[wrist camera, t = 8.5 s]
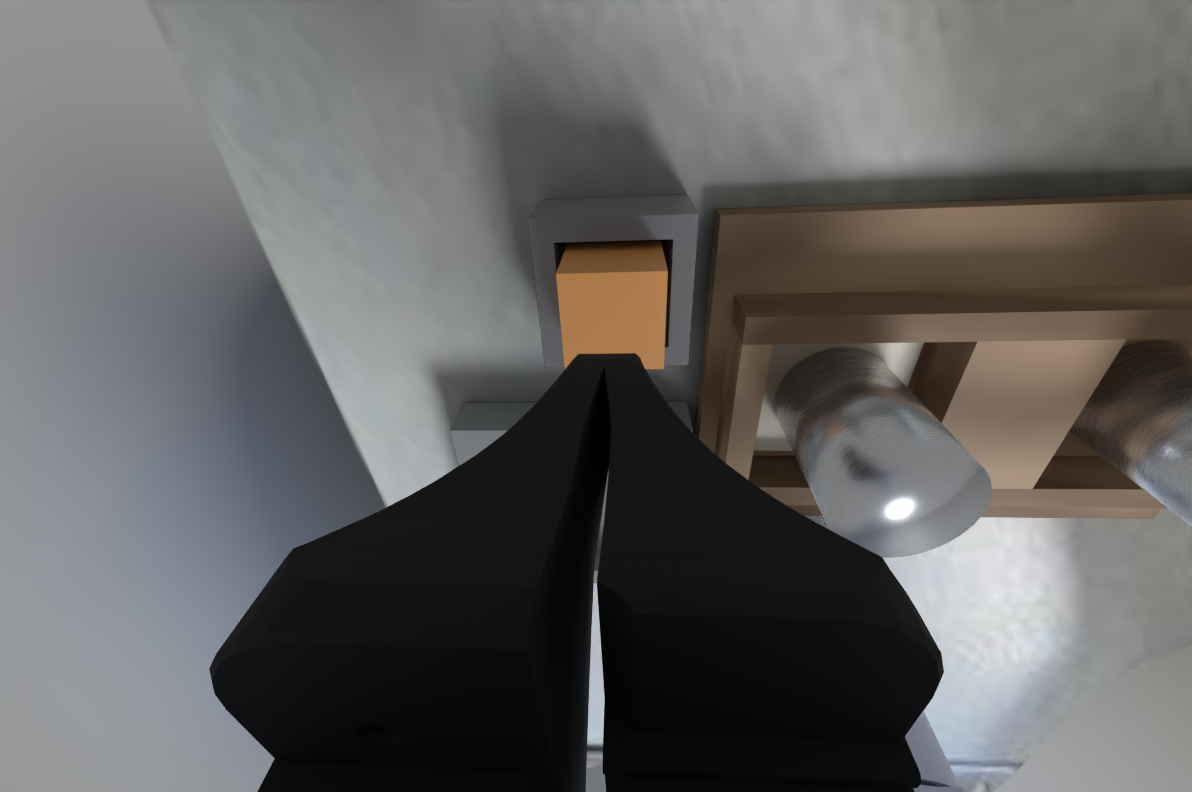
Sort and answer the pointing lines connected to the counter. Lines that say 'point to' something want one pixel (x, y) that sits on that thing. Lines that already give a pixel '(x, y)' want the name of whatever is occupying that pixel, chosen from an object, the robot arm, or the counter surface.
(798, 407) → the billet
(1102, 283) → the wooden compartment tray
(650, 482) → the robot arm
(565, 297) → the button
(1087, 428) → the cylinder
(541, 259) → the button housing
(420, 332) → the counter surface
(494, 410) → the shallow grey tray
